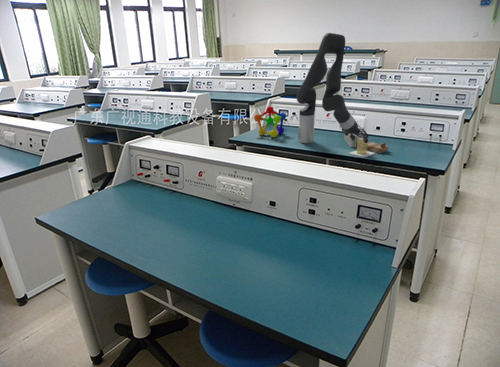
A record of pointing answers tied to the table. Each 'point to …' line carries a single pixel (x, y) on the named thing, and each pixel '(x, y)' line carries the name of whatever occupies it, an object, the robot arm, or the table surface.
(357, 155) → the mat
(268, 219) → the table surface
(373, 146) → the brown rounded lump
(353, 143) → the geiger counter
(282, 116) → the molecular model
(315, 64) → the robot arm
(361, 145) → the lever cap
